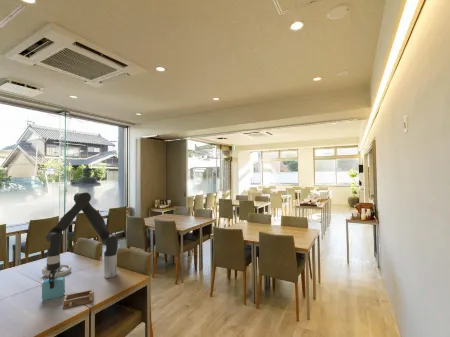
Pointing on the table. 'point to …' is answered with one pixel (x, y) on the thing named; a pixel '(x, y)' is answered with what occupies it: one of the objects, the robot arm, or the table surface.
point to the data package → (56, 291)
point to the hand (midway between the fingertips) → (53, 285)
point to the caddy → (78, 299)
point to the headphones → (60, 274)
